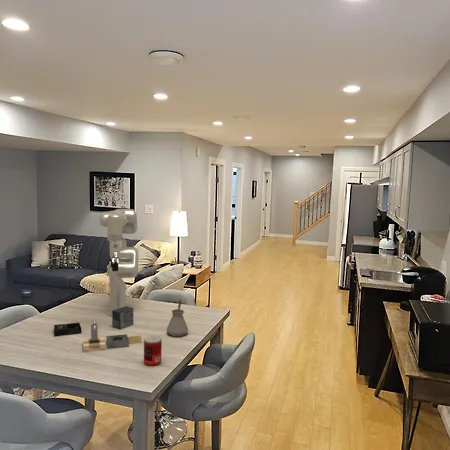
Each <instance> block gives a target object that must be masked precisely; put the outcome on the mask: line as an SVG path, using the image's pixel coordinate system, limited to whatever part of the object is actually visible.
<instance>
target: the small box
mask: <svg viewBox="0 0 450 450" xmlns="http://www.w3.org/2000/svg"><path fill="white" fill-rule="evenodd" d="M111 319H112V323H111V325H112V326H111V327H112V329H116V330H119V331H121V330H125V329H126V328H129V327H132V326H133V325H134V307H132V306H131V307H130V306H125V307H122V308H119V309H116V310H113V311H112V316H111Z"/></svg>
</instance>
